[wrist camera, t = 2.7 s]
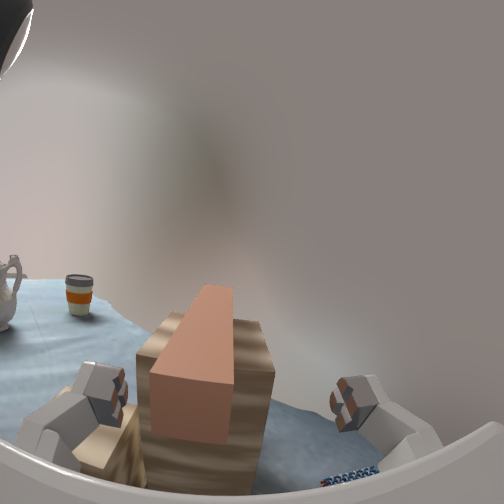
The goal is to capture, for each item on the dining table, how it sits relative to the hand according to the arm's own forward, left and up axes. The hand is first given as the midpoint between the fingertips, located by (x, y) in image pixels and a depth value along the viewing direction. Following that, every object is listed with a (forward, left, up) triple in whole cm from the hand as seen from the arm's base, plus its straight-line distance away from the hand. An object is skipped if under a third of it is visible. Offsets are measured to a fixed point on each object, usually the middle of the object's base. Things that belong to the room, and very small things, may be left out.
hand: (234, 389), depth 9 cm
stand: (+17, +12, -31) cm, 37 cm away
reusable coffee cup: (+50, +100, -31) cm, 116 cm away
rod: (+13, +10, -5) cm, 18 cm away
